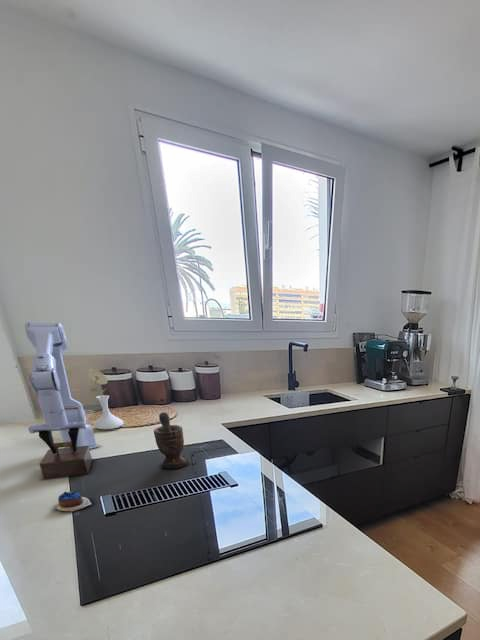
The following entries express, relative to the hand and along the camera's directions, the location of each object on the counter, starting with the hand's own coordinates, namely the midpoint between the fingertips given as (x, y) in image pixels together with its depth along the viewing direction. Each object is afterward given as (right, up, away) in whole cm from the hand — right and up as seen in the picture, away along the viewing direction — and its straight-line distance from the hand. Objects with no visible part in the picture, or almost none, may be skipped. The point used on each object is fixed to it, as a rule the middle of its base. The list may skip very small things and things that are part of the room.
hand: (65, 451), depth 127 cm
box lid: (0, -1, 0) cm, 1 cm away
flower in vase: (-15, +14, +45) cm, 50 cm away
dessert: (+18, -16, -21) cm, 32 cm away
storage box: (0, -6, +1) cm, 6 cm away
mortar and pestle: (+33, -5, +6) cm, 34 cm away
